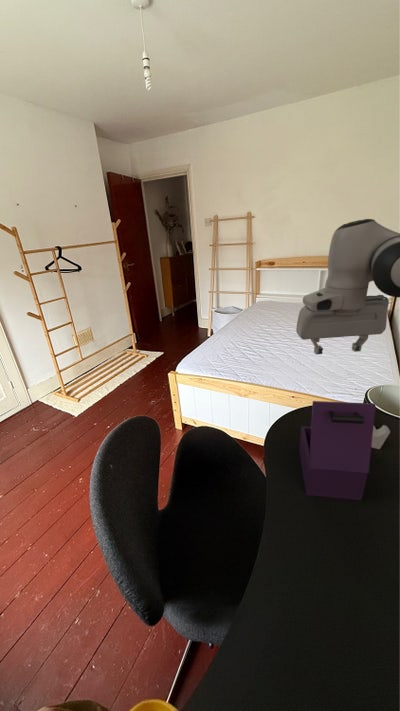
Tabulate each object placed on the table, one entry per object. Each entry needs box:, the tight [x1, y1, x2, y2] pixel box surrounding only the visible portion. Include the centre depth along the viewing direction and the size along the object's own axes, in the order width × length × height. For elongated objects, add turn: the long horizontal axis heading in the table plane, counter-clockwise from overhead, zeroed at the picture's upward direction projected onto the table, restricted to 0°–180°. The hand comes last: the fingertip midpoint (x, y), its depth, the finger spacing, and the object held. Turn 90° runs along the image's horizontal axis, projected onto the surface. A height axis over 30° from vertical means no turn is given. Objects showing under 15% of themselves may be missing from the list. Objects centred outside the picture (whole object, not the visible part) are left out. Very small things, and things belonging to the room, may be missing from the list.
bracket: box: [371, 424, 391, 450], centre depth 90 cm, size 13×7×8 cm, turn 171°
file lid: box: [309, 400, 377, 474], centre depth 64 cm, size 16×13×5 cm
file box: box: [298, 425, 368, 501], centre depth 77 cm, size 16×13×9 cm
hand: (336, 352), depth 74 cm, fingers open, 8 cm apart
